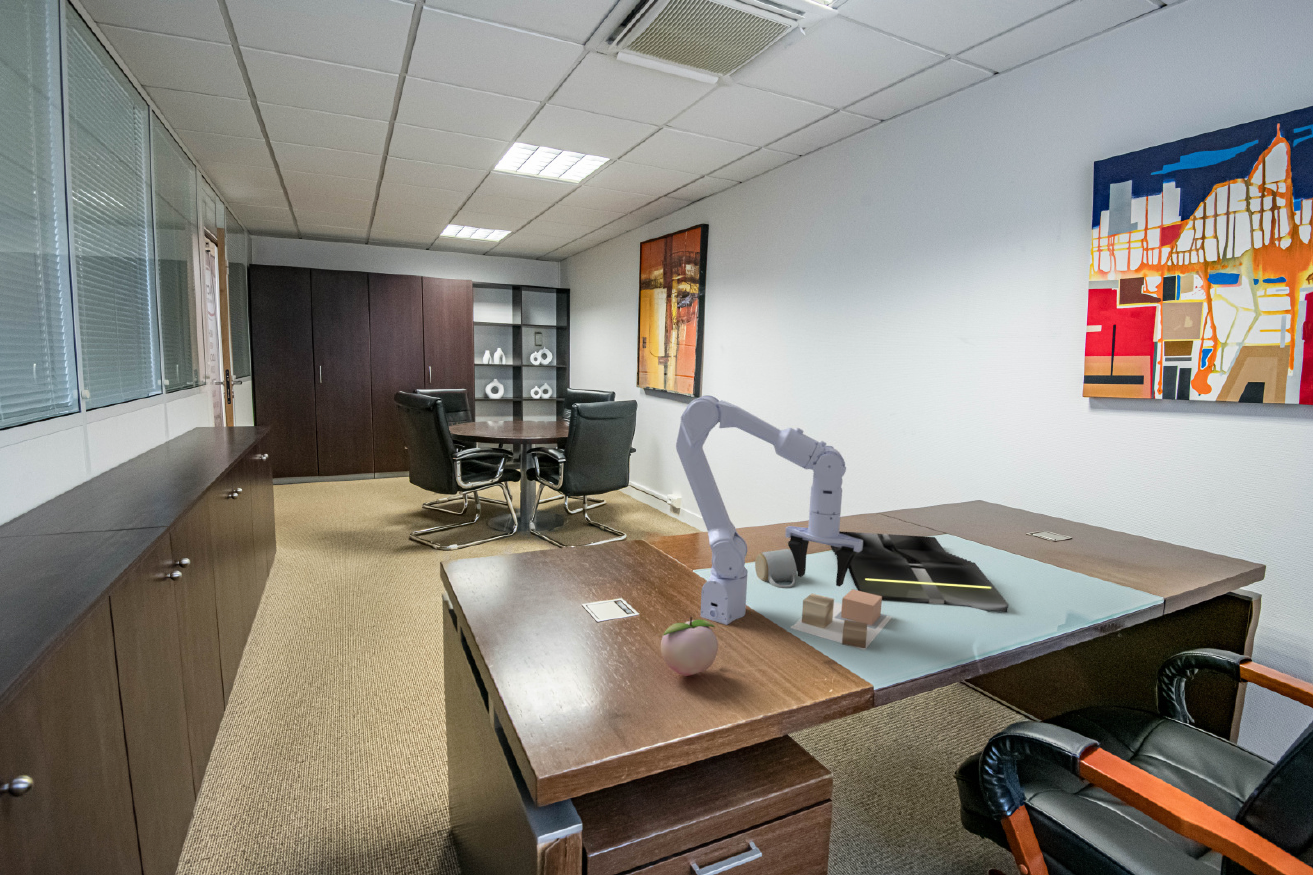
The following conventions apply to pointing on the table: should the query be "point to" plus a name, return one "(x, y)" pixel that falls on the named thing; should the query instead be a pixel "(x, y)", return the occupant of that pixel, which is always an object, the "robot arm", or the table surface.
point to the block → (854, 634)
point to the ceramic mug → (776, 567)
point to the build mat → (841, 627)
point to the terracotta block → (861, 607)
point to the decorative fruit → (689, 646)
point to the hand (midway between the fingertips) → (820, 580)
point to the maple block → (817, 610)
